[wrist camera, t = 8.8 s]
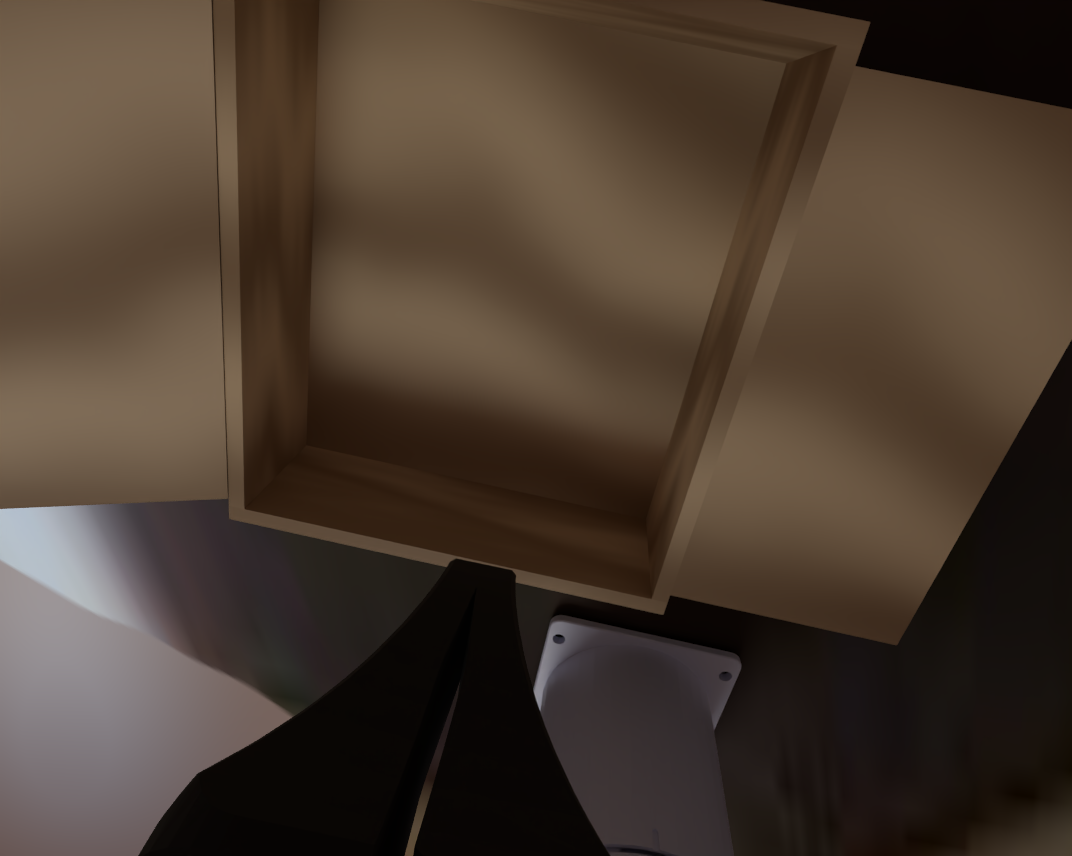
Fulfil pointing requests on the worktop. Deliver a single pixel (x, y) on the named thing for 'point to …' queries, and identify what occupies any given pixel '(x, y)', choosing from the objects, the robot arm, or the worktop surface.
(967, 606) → the worktop surface
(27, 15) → the carton flap
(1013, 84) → the worktop surface
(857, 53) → the carton
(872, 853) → the worktop surface
